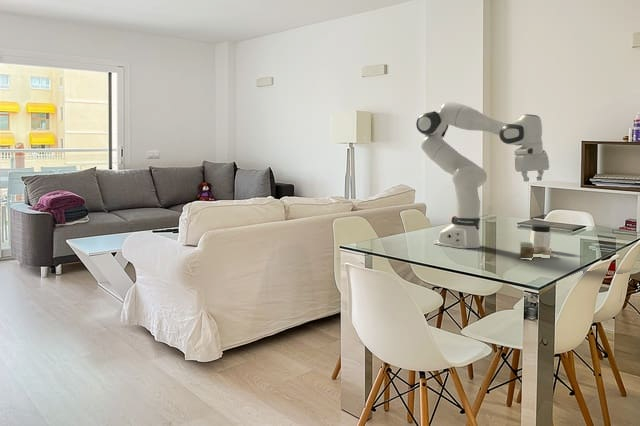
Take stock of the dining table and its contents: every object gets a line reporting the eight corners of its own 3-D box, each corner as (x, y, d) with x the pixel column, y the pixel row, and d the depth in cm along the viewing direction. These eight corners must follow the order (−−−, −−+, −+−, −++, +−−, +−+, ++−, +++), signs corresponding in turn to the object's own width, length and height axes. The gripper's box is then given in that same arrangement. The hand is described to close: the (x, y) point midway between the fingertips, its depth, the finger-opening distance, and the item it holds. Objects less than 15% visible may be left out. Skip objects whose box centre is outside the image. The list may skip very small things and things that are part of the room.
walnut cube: (519, 259, 242) (520, 248, 241) (521, 257, 246) (522, 246, 246) (531, 261, 240) (532, 249, 239) (533, 259, 244) (534, 247, 244)
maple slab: (530, 257, 248) (531, 248, 248) (532, 254, 255) (532, 246, 255) (549, 259, 245) (550, 251, 244) (550, 256, 252) (551, 248, 251)
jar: (527, 250, 264) (529, 225, 262) (530, 247, 271) (532, 223, 269) (547, 252, 259) (550, 227, 258) (550, 250, 266) (552, 225, 265)
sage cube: (520, 254, 255) (521, 243, 254) (518, 251, 259) (519, 241, 259) (531, 254, 254) (532, 244, 253) (529, 252, 258) (530, 242, 258)
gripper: (540, 150, 257) (540, 180, 258) (511, 151, 246) (512, 182, 247) (552, 149, 252) (552, 179, 253) (524, 150, 241) (524, 182, 242)
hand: (532, 181), depth 250 cm, fingers open, 8 cm apart
